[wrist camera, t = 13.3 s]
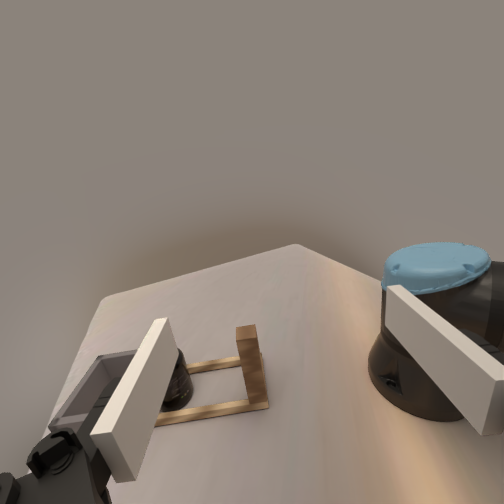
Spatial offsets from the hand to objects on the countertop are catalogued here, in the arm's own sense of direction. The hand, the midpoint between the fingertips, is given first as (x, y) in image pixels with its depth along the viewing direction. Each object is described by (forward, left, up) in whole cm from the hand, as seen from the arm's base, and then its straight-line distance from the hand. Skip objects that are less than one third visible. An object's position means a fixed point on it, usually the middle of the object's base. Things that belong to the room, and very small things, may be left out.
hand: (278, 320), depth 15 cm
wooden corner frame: (-15, -20, -29) cm, 39 cm away
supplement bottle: (-13, -26, -30) cm, 41 cm away
